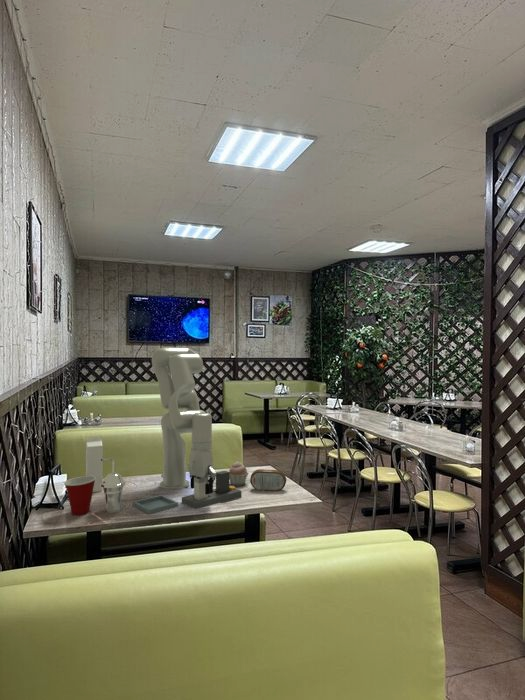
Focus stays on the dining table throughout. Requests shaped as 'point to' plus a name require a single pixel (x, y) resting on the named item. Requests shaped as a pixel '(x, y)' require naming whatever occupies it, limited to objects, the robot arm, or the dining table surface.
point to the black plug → (222, 482)
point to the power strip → (212, 498)
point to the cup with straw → (112, 489)
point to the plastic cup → (80, 493)
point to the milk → (95, 461)
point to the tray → (155, 504)
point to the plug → (199, 488)
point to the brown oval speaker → (268, 480)
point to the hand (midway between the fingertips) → (201, 490)
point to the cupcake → (237, 474)
